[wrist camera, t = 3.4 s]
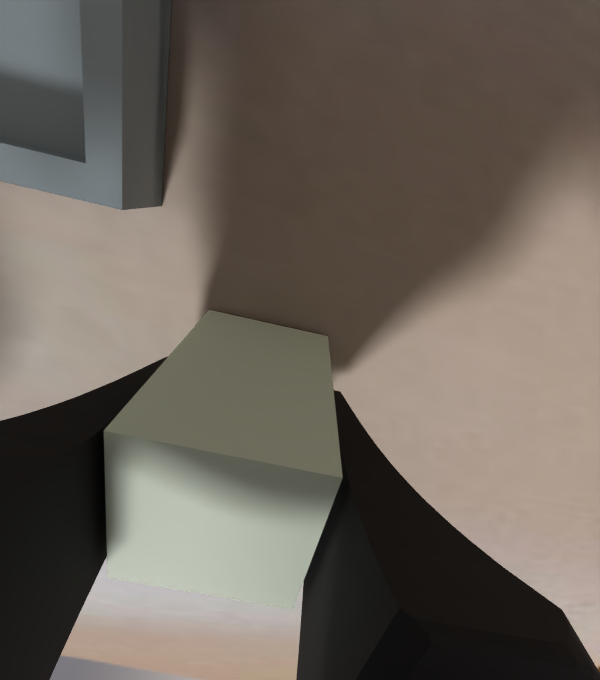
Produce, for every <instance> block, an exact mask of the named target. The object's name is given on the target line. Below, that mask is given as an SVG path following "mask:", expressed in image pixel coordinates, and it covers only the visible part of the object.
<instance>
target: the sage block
mask: <svg viewBox="0 0 600 680" xmlns="http://www.w3.org/2000/svg"><path fill="white" fill-rule="evenodd" d="M104 462H105V500H106V539H107V577H108V578H111V579H117V580H123V581H129V582H135V583H141V584H146V585H152V586H158V587H164V588H170V589H176V590H181V591H187V592H193V593H199V594H205V595H210V596H216V597H222V598H228V599H234V600H240V601H245V602H251V603H257V604H263V605H269V606H274V607H280V608H286V609H292V610H293V607H294V605H295V602H296V600H297V597H298V594H299V592H300V589H301V586H302V584H303V581H304V578H305V576H306V573H307V571H308V568H309V565H310V563H311V560H312V557H313V555H314V552H315V549H316V547H317V544H318V542H319V539H320V536H321V534H322V531H323V528H324V526H325V523H326V520H327V518H328V515H329V512H330V510H331V507H332V505H333V502H334V499H335V497H336V494H337V491H338V489H339V486H340V483H341V481H342V478H343V476H342V467H341V457H340V447H339V438H338V428H337V418H336V409H335V399H334V389H333V380H332V370H331V360H330V351H329V341H328V336H325V335H320V334H316V333H311V332H307V331H302V330H298V329H293V328H289V327H284V326H280V325H275V324H271V323H266V322H262V321H257V320H253V319H248V318H244V317H239V316H235V315H230V314H226V313H221V312H217V311H212V310H209V311H208V312H207V313H206V314H205V315H204V316H203V318H202V319H201V320H200V321H199V322H198V323H197V324H196V326H195V327H194V328H193V329H192V330H191V331H190V332H189V334H188V335H187V336H186V337H185V338H184V339H183V340H182V342H181V343H180V344H179V345H178V346H177V347H176V348H175V350H174V351H173V352H172V353H171V354H170V355H169V356H168V358H167V359H166V360H165V361H164V362H163V363H162V364H161V366H160V367H159V368H158V369H157V370H156V371H155V372H154V374H153V375H152V376H151V377H150V378H149V379H148V380H147V382H146V383H145V384H144V385H143V386H142V387H141V388H140V390H139V391H138V392H137V393H136V394H135V395H134V396H133V398H132V399H131V400H130V401H129V402H128V403H127V405H126V406H125V407H124V408H123V409H122V410H121V411H120V413H119V414H118V415H117V416H116V417H115V418H114V419H113V421H112V422H111V423H110V424H109V425H108V426H107V427H106V429H105V430H104Z"/></svg>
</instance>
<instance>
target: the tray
mask: <svg viewBox="0 0 600 680" xmlns="http://www.w3.org/2000/svg"><path fill="white" fill-rule="evenodd" d="M170 21H171V0H0V181H2V182H7V183H11V184H15V185H19V186H23V187H28V188H32V189H36V190H40V191H45V192H49V193H53V194H57V195H61V196H66V197H70V198H74V199H78V200H83V201H87V202H91V203H95V204H99V205H104V206H108V207H112V208H116V209H121V210H126V209H136V208H146V207H156V206H162V188H163V167H164V146H165V125H166V104H167V84H168V63H169V42H170Z"/></svg>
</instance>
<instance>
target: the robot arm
mask: <svg viewBox="0 0 600 680" xmlns="http://www.w3.org/2000/svg"><path fill="white" fill-rule="evenodd" d="M167 358H168V357H165V358H163V359H161V360H159V361H157V362H155V363H152V364H150V365H148V366H146V367H144V368H142V369H140V370H138V371H136V372H134V373H131V374H129V375H127V376H125V377H123V378H121V379H119V380H116V381H114V382H112V383H109V384H107V385H104V386H102V387H100V388H97V389H95V390H92V391H90V392H88V393H85V394H83V395H80V396H78V397H75V398H72V399H70V400H67V401H64V402H61V403H59V404H56V405H53V406H49V407H46V408H43V409H40V410H37V411H34V412H31V413H28V414H24V415H21V416H17V417H13V418H10V419H6V420H2V421H0V680H49V679H50V677H51V675H52V672H53V670H54V668H55V666H56V663H57V661H58V659H59V657H60V655H61V652H62V650H63V648H64V646H65V644H66V642H67V639H68V637H69V635H70V633H71V631H72V628H73V626H74V624H75V622H76V620H77V617H78V615H79V613H80V611H81V609H82V607H83V605H84V602H85V600H86V598H87V596H88V594H89V592H90V590H91V588H92V586H93V584H94V581H95V579H96V577H97V575H98V573H99V571H100V569H101V567H102V565H103V563H104V561H105V559H106V557H107V539H106V500H105V462H104V430H105V429H106V427H107V426H108V425H109V424H110V423H111V422H112V421H113V419H114V418H115V417H116V416H117V415H118V414H119V413H120V411H121V410H122V409H123V408H124V407H125V406H126V405H127V403H128V402H129V401H130V400H131V399H132V398H133V396H134V395H135V394H136V393H137V392H138V391H139V390H140V388H141V387H142V386H143V385H144V384H145V383H146V382H147V380H148V379H149V378H150V377H151V376H152V375H153V374H154V372H155V371H156V370H157V369H158V368H159V367H160V366H161V364H162V363H163V362H164V361H165V360H166V359H167ZM334 399H335V409H336V418H337V428H338V438H339V447H340V457H341V467H342V476H343V478H342V481H341V483H340V486H339V489H338V491H337V494H336V497H335V499H334V502H333V505H332V507H331V510H330V512H329V515H328V518H327V520H326V523H325V526H324V528H323V531H322V534H321V536H320V539H319V542H318V544H317V547H316V549H315V552H314V555H313V557H312V560H311V563H310V565H309V568H308V571H307V573H306V576H305V578H304V585H303V601H302V615H301V629H300V643H299V655H298V668H297V680H600V673H599V671H598V669H597V668H596V666H595V664H594V663H593V661H592V659H591V658H590V656H589V654H588V653H587V651H586V649H585V648H584V646H583V644H582V642H581V641H580V639H579V637H578V636H577V634H576V632H575V631H574V629H573V627H572V626H571V624H570V622H569V621H568V619H567V617H566V616H565V614H564V612H563V611H562V610H561V609H560V608H559V607H557V606H556V605H555V604H553V603H552V602H550V601H549V600H548V599H546V598H545V597H544V596H542V595H541V594H539V593H538V592H537V591H535V590H534V589H532V588H531V587H530V586H528V585H527V584H526V583H524V582H523V581H521V580H520V579H519V578H517V577H516V576H514V575H513V574H512V573H510V572H509V571H508V570H506V569H505V568H503V567H502V566H501V565H500V564H498V563H497V562H496V561H494V560H493V559H492V558H491V557H490V556H488V555H487V554H486V553H485V552H483V551H482V550H481V549H480V548H478V547H477V546H476V545H475V544H473V543H472V542H471V541H470V540H468V539H467V538H466V537H465V536H464V535H463V534H461V533H460V532H459V531H458V530H457V529H456V528H454V527H453V526H452V525H451V524H450V523H449V522H448V521H447V520H446V519H445V518H443V517H442V516H441V515H440V514H439V513H438V512H437V511H436V510H435V509H434V508H433V507H432V506H431V505H429V504H428V503H427V502H426V501H425V500H424V499H423V498H422V497H421V496H420V495H419V494H418V493H417V492H416V491H415V490H414V489H413V487H412V486H411V485H410V484H409V483H408V482H407V481H406V480H405V479H404V478H403V477H402V476H401V475H400V473H399V472H398V471H397V470H396V469H395V468H394V467H393V465H392V464H391V463H390V462H389V461H388V459H387V458H386V457H385V456H384V454H383V453H382V452H381V451H380V449H379V448H378V447H377V445H376V444H375V443H374V441H373V440H372V439H371V437H370V436H369V435H368V433H367V432H366V430H365V429H364V427H363V426H362V425H361V423H360V422H359V420H358V419H357V417H356V416H355V414H354V412H353V411H352V409H351V408H350V406H349V405H348V403H347V401H346V400H345V398H344V397H343V395H342V394H341V392H339V391H335V390H334Z"/></svg>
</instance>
